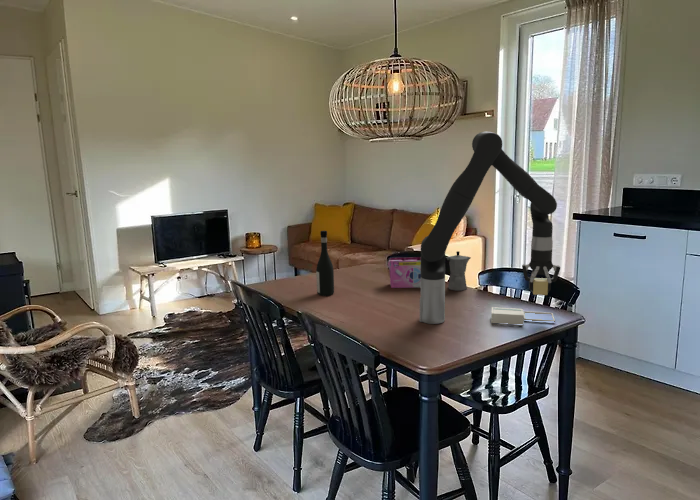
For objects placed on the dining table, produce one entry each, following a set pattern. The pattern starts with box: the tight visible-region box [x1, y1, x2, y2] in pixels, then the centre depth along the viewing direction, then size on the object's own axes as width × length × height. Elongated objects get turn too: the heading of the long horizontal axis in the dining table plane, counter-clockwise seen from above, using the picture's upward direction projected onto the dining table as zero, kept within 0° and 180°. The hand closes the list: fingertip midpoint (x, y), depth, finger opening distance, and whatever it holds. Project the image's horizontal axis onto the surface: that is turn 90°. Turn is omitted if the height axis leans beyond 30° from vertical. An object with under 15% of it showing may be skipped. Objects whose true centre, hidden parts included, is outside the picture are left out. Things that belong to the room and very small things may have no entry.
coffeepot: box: [445, 250, 472, 291], centre depth 242 cm, size 15×9×18 cm, turn 104°
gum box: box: [387, 256, 421, 289], centre depth 250 cm, size 24×8×14 cm, turn 89°
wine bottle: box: [315, 230, 335, 297], centre depth 236 cm, size 8×8×30 cm
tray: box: [523, 310, 556, 323], centre depth 197 cm, size 11×10×1 cm
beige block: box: [532, 277, 548, 296], centre depth 195 cm, size 5×6×5 cm
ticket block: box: [490, 306, 524, 326], centre depth 194 cm, size 12×10×4 cm
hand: (539, 291), depth 195 cm, fingers closed on beige block, 5 cm apart
